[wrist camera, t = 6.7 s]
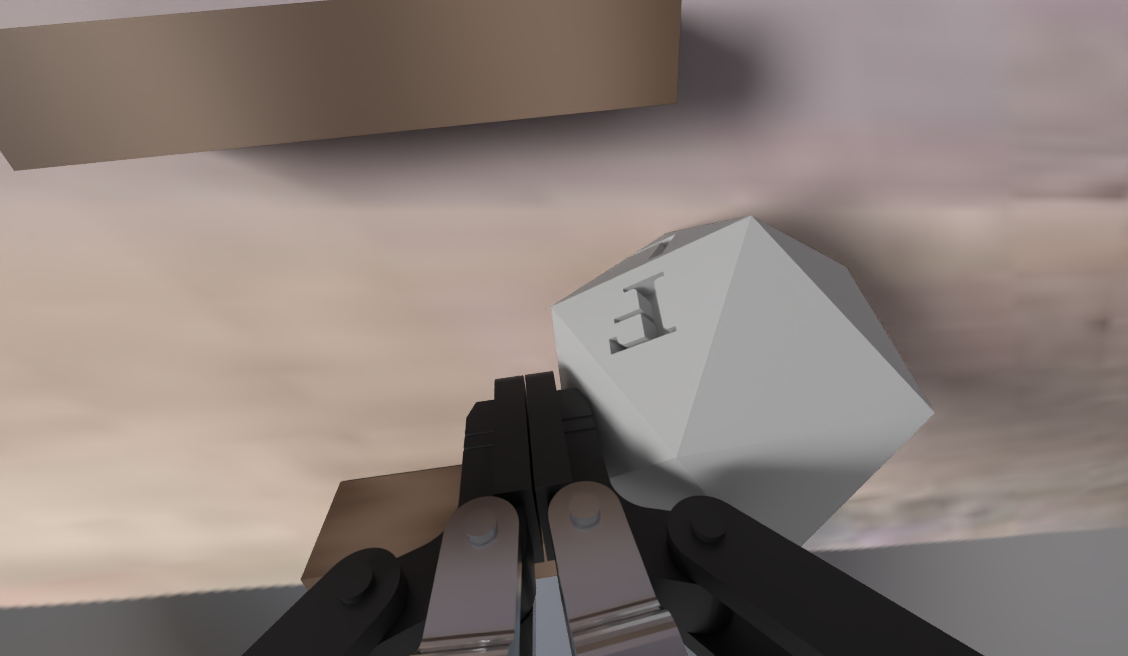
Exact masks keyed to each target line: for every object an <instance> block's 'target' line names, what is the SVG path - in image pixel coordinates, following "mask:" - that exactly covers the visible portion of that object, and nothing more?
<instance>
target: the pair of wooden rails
mask: <svg viewBox="0 0 1128 656" xmlns="http://www.w3.org/2000/svg"><path fill="white" fill-rule="evenodd" d="M680 22H681V0H327V1H316V2H304V3H293V4H281V5H270V6H258V7H247V8H236V9H224V10H213V11H201V12H190V13H178V14H167V15H155V16H144V17H133V18H121V19H110V20H98V21H87V22H75V23H64V24H53V25H41V26H30V27H18V28H7V29H0V151H1V152H2V154H3V155H4V157H5V158H6V160H7V161H8V162H9V164H10V165H11V167H12V168H13V170H14V171H17V170H27V169H37V168H47V167H56V166H66V165H76V164H86V163H96V162H105V161H115V160H125V159H135V158H144V157H154V156H164V155H174V154H184V153H193V152H203V151H213V150H223V149H233V148H242V147H252V146H262V145H272V144H281V143H291V142H301V141H311V140H321V139H330V138H340V137H350V136H360V135H370V134H379V133H389V132H399V131H409V130H418V129H428V128H438V127H448V126H458V125H467V124H477V123H487V122H497V121H507V120H516V119H526V118H536V117H546V116H555V115H565V114H575V113H585V112H595V111H604V110H614V109H624V108H634V107H644V106H653V105H663V104H673V103H677V89H678V67H679V45H680ZM461 472H462V465H459V466H452V467H445V468H437V469H430V470H423V471H416V472H409V473H401V474H394V475H387V476H380V477H373V478H366V479H358V480H351V481H344V482H340V484H339V487H338V489H337V492H336V494H335V497H334V499H333V502H332V504H331V506H330V509H329V511H328V514H327V516H326V519H325V521H324V524H323V526H322V529H321V531H320V533H319V536H318V538H317V541H316V543H315V546H314V548H313V551H312V553H311V556H310V558H309V560H308V563H307V565H306V568H305V570H304V573H303V575H302V578H301V581H302V583H303V584H304V585H305V587H306V588H307V590H308V591H309V590H310V589H311V588H312V587H313V586H314V585H315V584H316V583H317V582H318V581H319V580H320V579H321V578H322V577H323V576H324V575H325V574H326V573H327V572H328V571H329V570H330V569H331V568H332V567H333V566H334V565H336V564H337V563H338V562H339V561H340V560H342V559H343V558H345V557H346V556H348V555H350V554H352V553H354V552H356V551H359V550H362V549H366V548H373V547H374V548H383V549H386V550H388V551H390V552H391V553H392V554H394V555H395V557H396V558H398V557H400V556H402V555H404V554H406V553H408V552H410V551H412V550H415V549H417V548H419V547H421V546H423V545H425V544H427V543H429V542H430V541H432V540H433V539H435V538H436V537H438V536H439V535H440V534H441V533H442V532H443V531H444V530H445V527H446V524H447V522H448V520H449V519H450V517H451V516H452V514H453V513H454V512H455V511H456V510H457V508H458V503H459V493H460V482H461ZM541 528H542V527H541ZM542 539H543V533H542ZM543 549H544V560H545V562H542V563H536V564H534V566H535V579H539V578H545V577H552V576H557V570H556V564H555V560H552V561H547V556H546V551H545V545H544V539H543Z"/></svg>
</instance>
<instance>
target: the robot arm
mask: <svg viewBox="0 0 1128 656" xmlns="http://www.w3.org/2000/svg"><path fill="white" fill-rule="evenodd" d="M525 381H526V388H525V382H524V376H523V375H522V376H515V377H508V378H501V379H495V389H494V400H488V401H482V402H476V404H475V405H474V407H473V408H472V410H471V411H470V413H469V415H468V416H467V418H466V429H465V440H464V451H463V461H462V472H461V482H460V493H459V503H458V508H457V510H456V511H455V512H454V513H453V514H452V516H451V517H450V519H449V520H448V522H447V524H446V527H445V530H444V531H443V532H442V533H441V534H440V535H439V536H438V537H436V538H435V539H433V540H432V541H430V542H429V543H427V544H425V545H423V546H421V547H419V548H417V549H415V550H412V551H410V552H408V553H406V554H404V555H402V556H400V557H398V558H396V557H395V555H394V554H392V553H391V552H390V551H388V550H386V549H383V548H374V547H373V548H366V549H362V550H359V551H356V552H354V553H352V554H350V555H348V556H346V557H345V558H343V559H342V560H340V561H339V562H338V563H337V564H336V565H334V566H333V567H332V568H331V569H330V570H329V571H328V572H327V573H326V574H325V575H324V576H323V577H322V578H321V579H320V580H319V581H318V582H317V583H316V584H315V585H314V586H313V587H312V588H311V589H310V590H309V591H308V592H306V594H304V595H303V596H302V597H301V598H300V599H299V600H298V601H297V602H296V603H295V604H294V605H293V606H292V607H291V608H290V609H289V610H288V611H287V612H286V613H285V614H284V615H283V616H282V617H281V618H280V619H279V620H278V621H277V622H276V623H275V624H274V625H273V626H272V627H271V628H270V629H268V631H266V632H265V633H264V634H263V635H262V636H261V637H260V638H259V639H258V640H257V641H256V642H255V643H254V644H253V645H252V646H251V647H250V648H249V649H248V650H247V651H246V652H245V653H244V654H243V655H242V656H536V599H535V595H536V580H535V566H534V564H536V563H542V562H545V560H544V549H543V539H544V545H545V551H546V556H547V561H552V560H555V564H556V570H557V577H558V583H559V590H560V596H561V602H562V607H563V612H564V618H565V622H566V628H567V633H568V638H569V643H570V649H571V653H572V656H688V653H687V651H686V648H685V646H684V645H686V646H687V647H688V648H689V649H690V650H691V651H693V652H694V653H695V654H696V655H697V656H983V655H982V654H980V653H979V652H977V651H975V650H973V649H972V648H970V647H968V646H967V645H965V644H963V643H962V642H960V641H958V640H957V639H955V638H953V637H951V636H950V635H948V634H947V633H945V632H943V631H942V630H940V629H938V628H936V627H935V626H933V625H931V624H930V623H928V622H926V621H925V620H923V619H921V618H920V617H918V616H916V615H915V614H913V613H911V612H910V611H908V610H906V609H905V608H903V607H901V606H899V605H898V604H896V603H894V602H893V601H891V600H889V599H888V598H886V597H884V596H883V595H881V594H879V593H878V592H876V591H874V590H872V589H871V588H869V587H868V586H866V585H864V584H862V583H861V582H859V581H857V580H856V579H854V578H852V577H851V576H849V575H847V574H846V573H844V572H842V571H841V570H839V569H837V568H836V567H834V566H832V565H830V564H829V563H827V562H825V561H824V560H822V559H820V558H819V557H817V556H815V555H814V554H812V553H810V552H809V551H807V550H805V549H804V548H802V547H800V546H799V545H797V544H795V543H794V542H792V541H790V540H788V539H787V538H785V537H783V536H782V535H780V534H778V533H777V532H775V531H773V530H772V529H770V528H768V527H767V526H765V525H763V524H762V523H760V522H758V521H757V520H755V519H753V518H752V517H750V516H748V515H746V514H745V513H743V512H741V511H740V510H738V509H736V508H735V507H733V506H731V505H730V504H728V503H726V502H724V501H722V500H720V499H717V498H714V497H710V496H702V495H699V496H691V497H687V498H685V499H683V500H681V501H679V502H678V503H677V504H676V505H675V506H674V507H673V508H672V510H671V511H668V510H661V509H653V508H647V507H642V506H638V505H636V504H633V503H631V502H629V501H627V500H626V499H624V498H623V497H622V496H620V495H619V494H618V493H617V492H616V490H615V489H614V488H613V486H612V484H611V482H610V479H609V476H608V472H607V469H606V465H605V461H604V458H603V454H602V450H601V447H600V443H599V439H598V435H597V432H596V429H595V424H594V421H593V418H592V413H591V410H590V406H589V402H588V399H587V398H586V397H585V396H584V395H583V394H582V393H581V392H580V391H579V390H578V389H577V388H570V389H564V390H557V391H556V385H555V380H554V374H553V371H549V372H542V373H535V374H528V375H525ZM526 392H527V394H526ZM541 527H542V528H541ZM542 533H543V539H542Z"/></svg>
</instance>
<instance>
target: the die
mask: <svg viewBox="0 0 1128 656" xmlns="http://www.w3.org/2000/svg"><path fill="white" fill-rule="evenodd" d="M551 312H552V319H553V327H554V335H555V343H556V351H557V359H558V367H559V374H560V382H561V390H564V389H570V388H577V389H578V390H579V391H580V392H581V393H582V394H583V395H584V396H585V397H586V398H587V399H588V402H589V406H590V410H591V413H592V418H593V421H594V424H595V429H596V432H597V435H598V439H599V443H600V447H601V450H602V454H603V458H604V461H605V465H606V469H607V472H608V476H609V479H610V482H611V484H612V486H613V488H614V489H615V490H616V492H617V493H618V494H619V495H620V496H622V497H623V498H624V499H626V500H627V501H629V502H631V503H633V504H636V505H638V506H642V507H647V508H653V509H661V510H668V511H671V510H672V508H673V507H674V506H675V505H676V504H677V503H678V502H679V501H681V500H683V499H685V498H687V497H691V496H699V495H702V496H710V497H714V498H717V499H720V500H722V501H724V502H726V503H728V504H730V505H731V506H733V507H735V508H736V509H738V510H740V511H741V512H743V513H745V514H746V515H748V516H750V517H752V518H753V519H755V520H757V521H758V522H760V523H762V524H763V525H765V526H767V527H768V528H770V529H772V530H773V531H775V532H777V533H778V534H780V535H782V536H783V537H785V538H787V539H788V540H790V541H792V542H794V543H795V544H797V545H799V546H800V547H801V546H802V545H803V544H804V543H805V542H806V541H807V540H808V539H809V538H810V537H811V536H812V535H813V534H814V533H815V532H816V531H817V530H818V529H819V528H820V527H821V526H822V525H823V524H824V523H825V522H826V521H827V520H828V519H829V518H830V517H831V516H832V515H833V514H834V513H835V512H836V511H837V510H838V509H839V508H840V507H841V506H842V505H843V504H844V503H845V502H846V501H847V500H848V499H849V498H850V497H851V496H852V495H853V494H854V493H855V492H856V491H857V490H858V489H859V488H860V487H861V486H862V485H863V484H864V483H865V482H866V481H867V480H868V479H869V478H870V477H871V476H872V475H873V474H874V473H875V472H876V471H877V470H878V469H879V468H880V467H881V466H882V465H883V464H884V463H885V462H886V461H887V460H888V459H889V458H890V457H891V456H892V455H893V454H894V453H895V452H896V451H897V450H898V449H899V448H900V447H901V446H902V445H903V444H904V443H905V442H906V441H907V440H908V439H909V438H910V437H911V436H912V435H913V434H914V433H915V432H916V431H917V430H918V429H919V428H920V427H921V426H922V425H923V424H924V423H925V422H926V421H927V420H928V419H929V418H930V417H931V416H932V415H933V414H934V413H935V412H934V410H933V409H932V407H931V405H930V404H929V402H928V400H927V399H926V397H925V396H924V394H923V392H922V391H921V389H920V387H919V386H918V384H917V382H916V381H915V379H914V378H913V376H912V374H911V373H910V371H909V369H908V368H907V366H906V364H905V363H904V361H903V359H902V358H901V356H900V355H899V353H898V351H897V350H896V348H895V346H894V345H893V343H892V341H891V340H890V338H889V336H888V335H887V333H886V332H885V330H884V328H883V327H882V325H881V323H880V322H879V320H878V318H877V317H876V315H875V314H874V312H873V310H872V309H871V307H870V305H869V304H868V302H867V300H866V299H865V297H864V295H863V294H862V292H861V291H860V289H859V287H858V286H857V284H856V282H855V281H854V279H853V277H852V276H851V274H850V273H849V271H848V269H847V268H846V267H845V266H843V265H841V264H839V263H838V262H836V261H834V260H832V259H830V258H828V257H827V256H825V255H823V254H821V253H819V252H817V251H816V250H814V249H812V248H810V247H808V246H806V245H805V244H803V243H801V242H799V241H797V240H796V239H794V238H792V237H790V236H788V235H786V234H785V233H783V232H781V231H779V230H777V229H775V228H774V227H772V226H770V225H768V224H766V223H764V222H763V221H761V220H759V219H757V218H755V217H753V216H752V215H750V216H746V217H741V218H736V219H731V220H727V221H722V222H717V223H713V224H708V225H703V226H698V227H694V228H689V229H684V230H680V231H675V232H670V233H666V234H664V235H663V236H661V237H659V238H658V239H656V240H655V241H653V242H652V243H650V244H648V245H647V246H645V247H644V248H642V249H641V250H639V251H637V252H636V253H634V254H633V256H631V257H628V258H626V259H625V260H623V261H622V262H620V263H619V264H617V265H616V266H614V267H612V268H611V269H609V270H608V271H606V272H605V273H603V274H601V275H600V276H598V277H597V278H595V279H594V280H592V281H590V282H589V283H587V284H586V285H584V286H583V287H581V288H579V289H578V290H576V291H575V292H573V293H572V294H570V295H568V296H567V297H565V298H564V299H562V300H561V301H559V302H557V303H556V304H554V305H553V306H551Z"/></svg>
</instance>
